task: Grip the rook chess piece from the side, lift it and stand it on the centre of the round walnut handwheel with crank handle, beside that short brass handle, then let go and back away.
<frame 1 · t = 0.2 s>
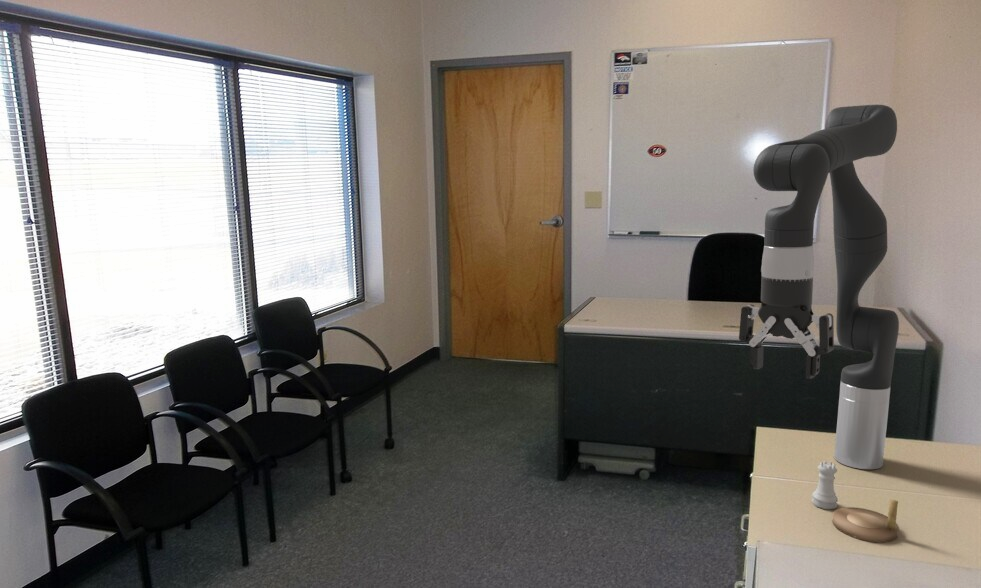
hand: (783, 372, 112), 28 cm above the table, tool pointing down, fingers open, 8 cm apart
rook chess piece: (824, 505, 128), on the table
handwheel with crank handle: (864, 527, 120), on the table
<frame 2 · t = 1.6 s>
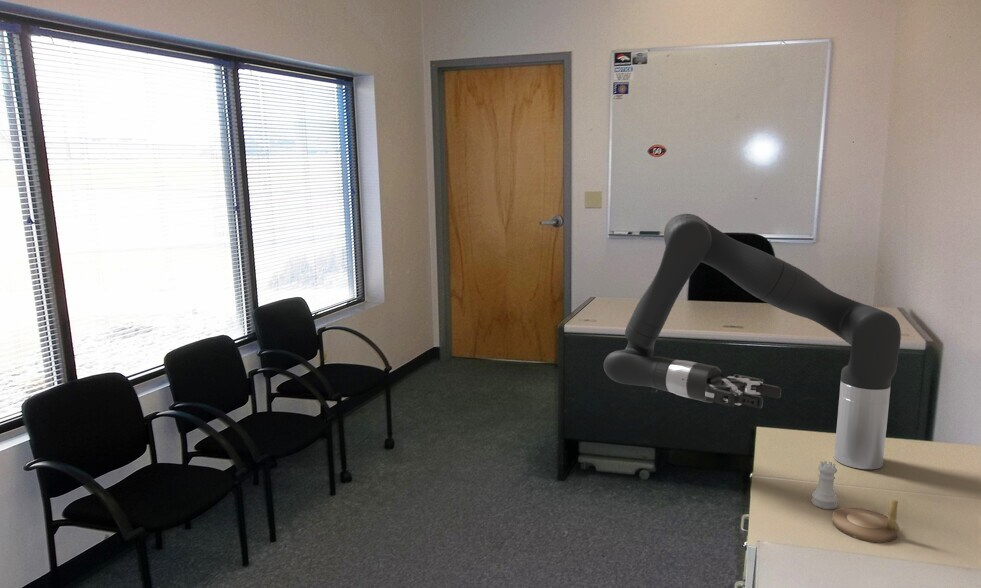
hand: (771, 397, 132), 18 cm above the table, tool horizontal, fingers open, 8 cm apart
nothing on the table moved.
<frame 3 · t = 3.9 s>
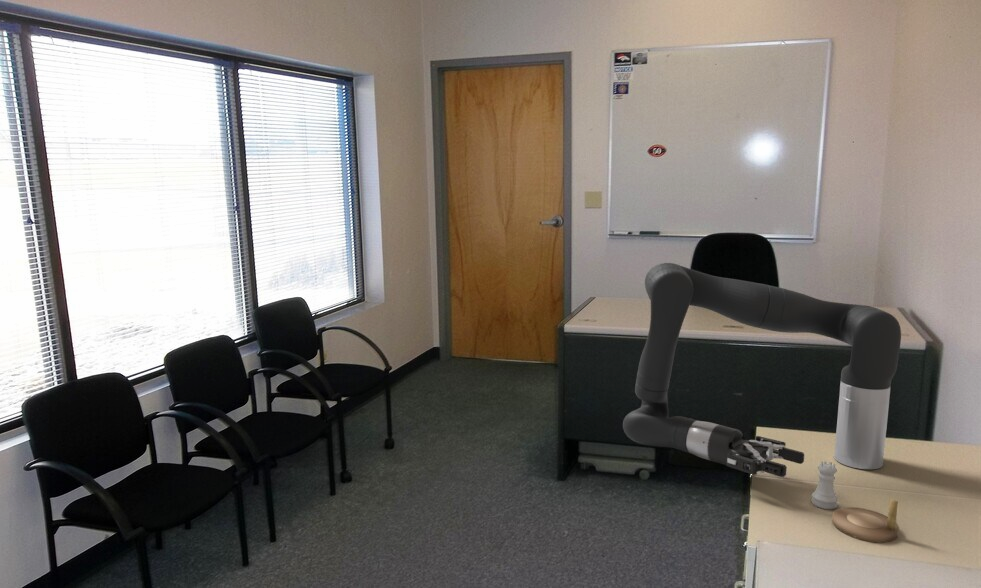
hand: (794, 464, 131), 6 cm above the table, tool horizontal, fingers open, 8 cm apart
nothing on the table moved.
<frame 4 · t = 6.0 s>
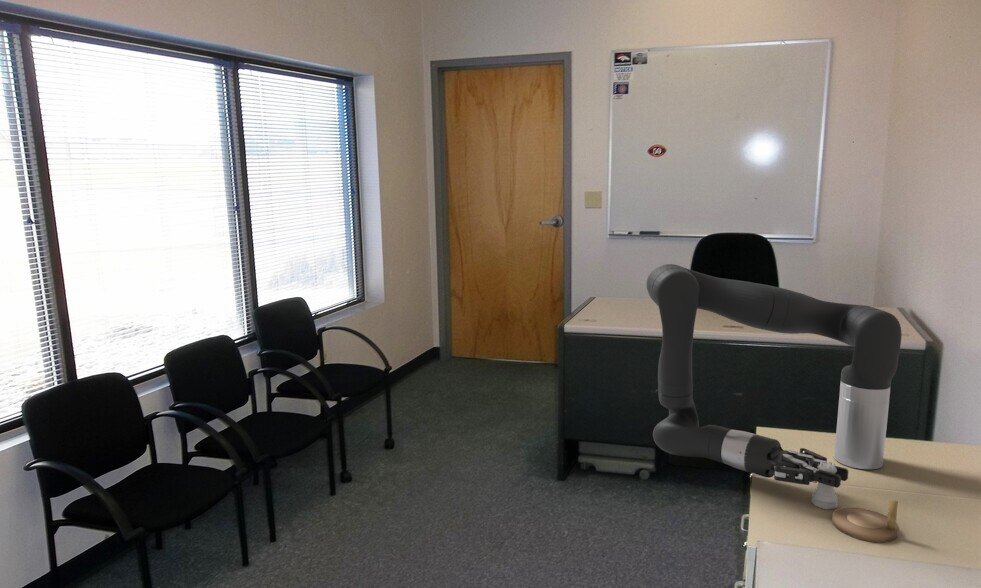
hand: (843, 478, 125), 6 cm above the table, tool horizontal, fingers closed on rook chess piece, 3 cm apart
rook chess piece: (824, 505, 128), on the table, touching gripper
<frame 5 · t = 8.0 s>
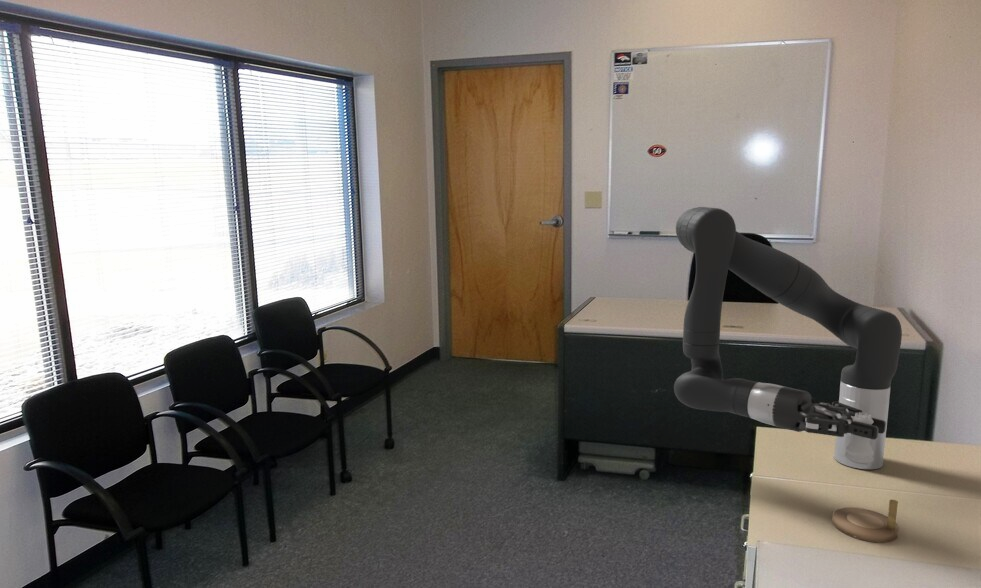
hand: (880, 430, 116), 18 cm above the table, tool horizontal, fingers closed on rook chess piece, 3 cm apart
rook chess piece: (858, 460, 119), point 11 cm above the table, touching gripper
when the fingers open (8 cm above the table, at t = 10.2 s): rook chess piece stays where it is, resting on handwheel with crank handle.
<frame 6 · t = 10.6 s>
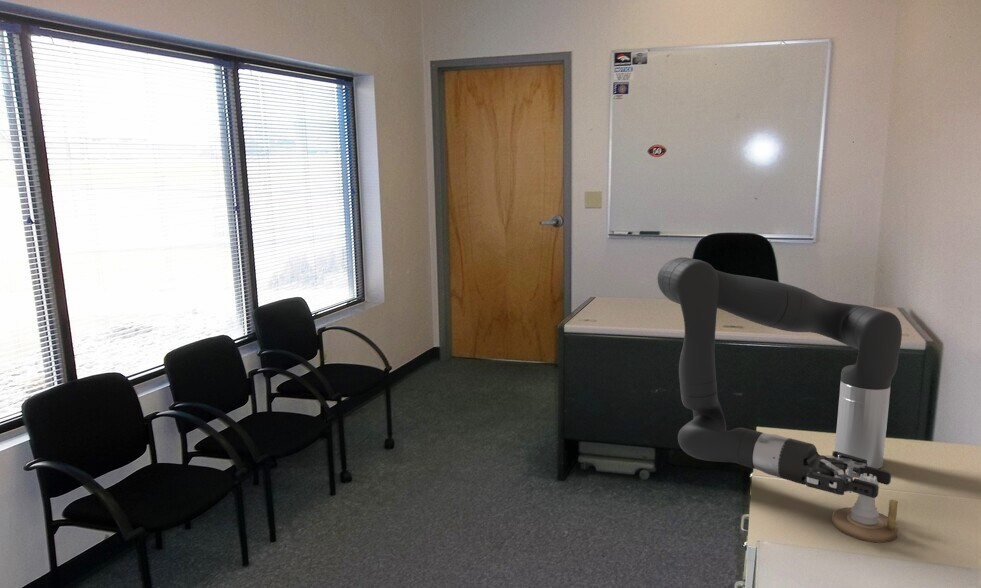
hand: (883, 485, 117), 8 cm above the table, tool horizontal, fingers open, 6 cm apart
rook chess piece: (864, 521, 119), point 1 cm above the table, touching handwheel with crank handle
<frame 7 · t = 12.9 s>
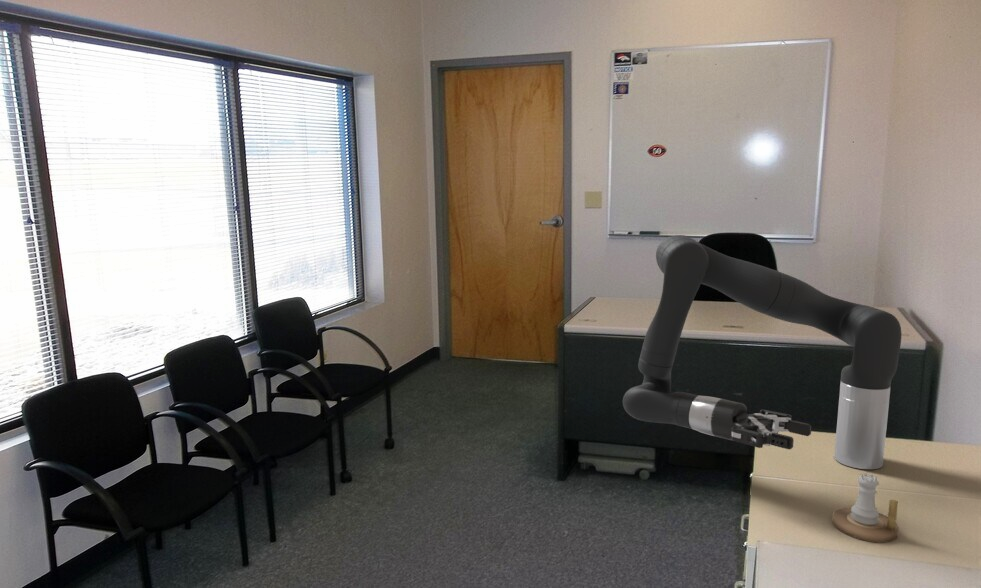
hand: (801, 436, 126), 13 cm above the table, tool horizontal, fingers open, 8 cm apart
nothing on the table moved.
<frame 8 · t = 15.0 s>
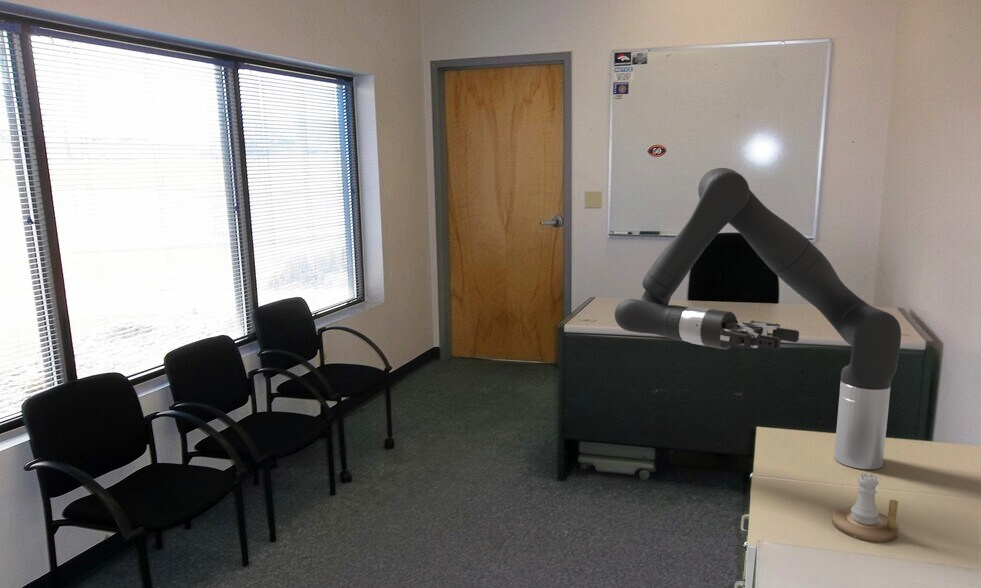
hand: (789, 340, 128), 30 cm above the table, tool horizontal, fingers open, 8 cm apart
nothing on the table moved.
at the end: rook chess piece 0.2 cm from the handwheel with crank handle (horizontally); rook chess piece point 1.1 cm above the table; rook chess piece tilted 0° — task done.
